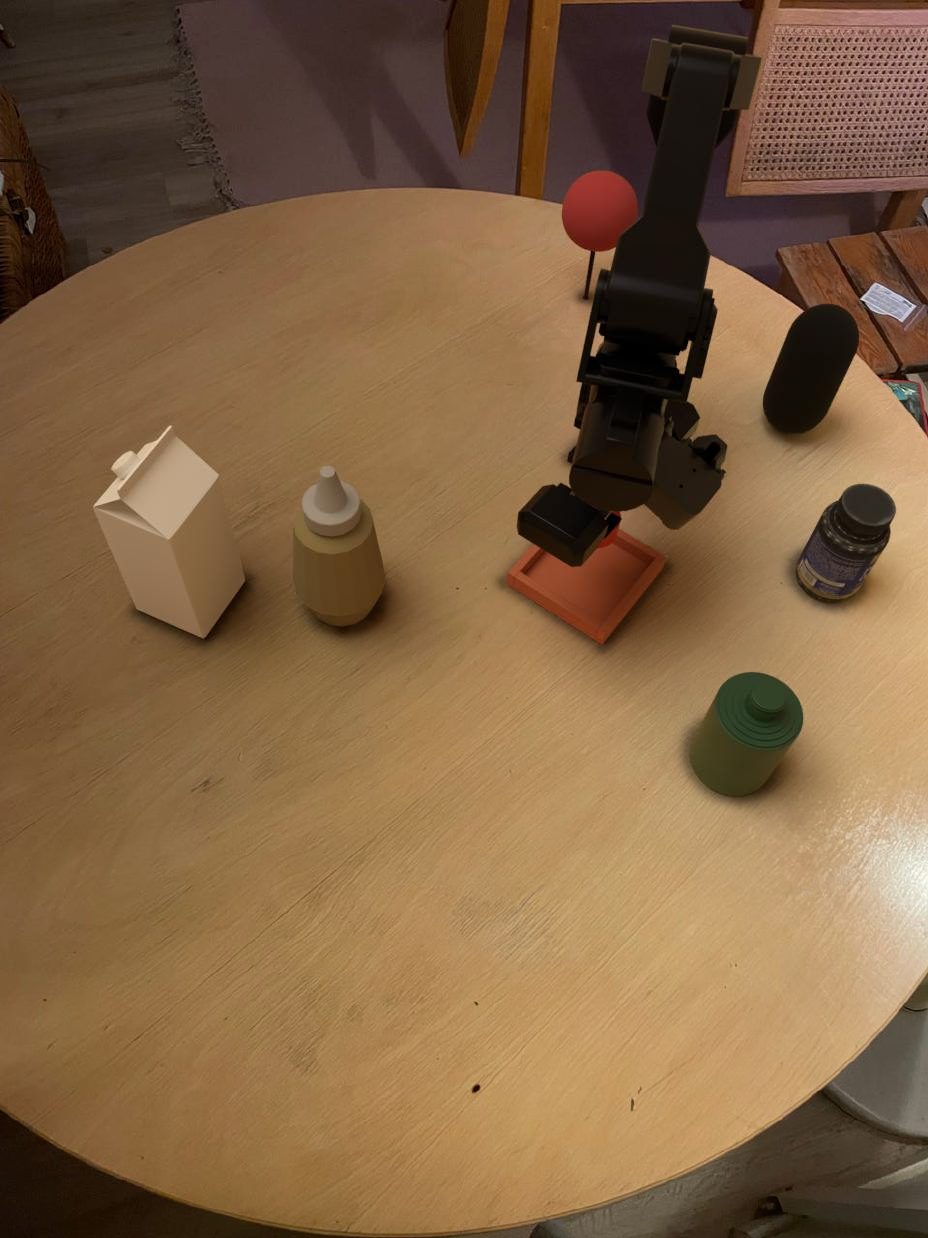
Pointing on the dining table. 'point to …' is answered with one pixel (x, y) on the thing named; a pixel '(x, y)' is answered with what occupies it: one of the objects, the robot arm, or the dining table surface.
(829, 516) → the pill bottle
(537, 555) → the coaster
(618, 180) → the lollipop
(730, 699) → the bottle
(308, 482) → the dining table surface
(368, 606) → the squeeze bottle
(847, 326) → the decorative object
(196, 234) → the dining table surface
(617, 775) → the dining table surface
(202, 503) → the milk carton
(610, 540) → the cap
